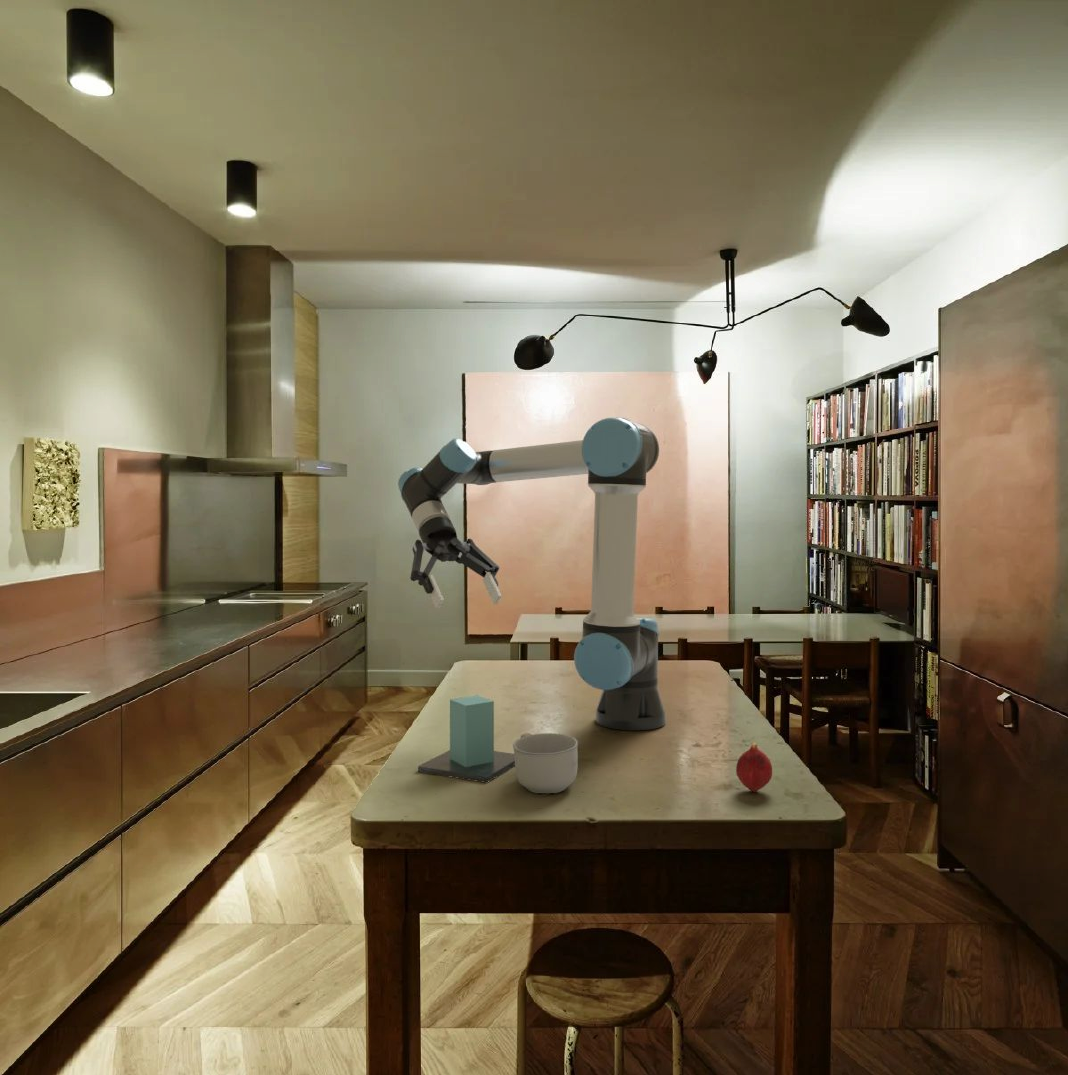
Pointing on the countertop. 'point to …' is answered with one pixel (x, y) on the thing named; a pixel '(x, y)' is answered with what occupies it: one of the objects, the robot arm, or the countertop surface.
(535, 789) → the teacup
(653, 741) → the countertop surface
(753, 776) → the onion
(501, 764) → the gray square peg stand
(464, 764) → the teal upright box
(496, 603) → the robot arm
